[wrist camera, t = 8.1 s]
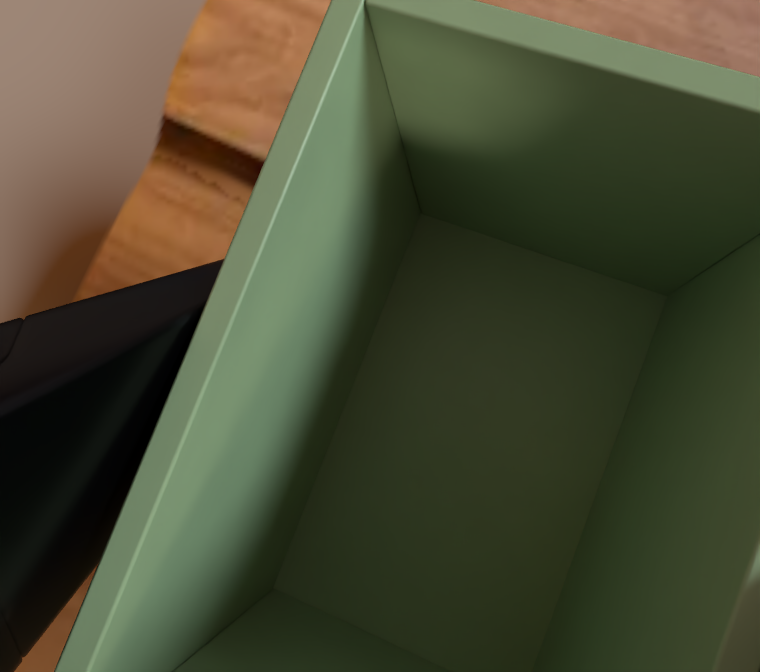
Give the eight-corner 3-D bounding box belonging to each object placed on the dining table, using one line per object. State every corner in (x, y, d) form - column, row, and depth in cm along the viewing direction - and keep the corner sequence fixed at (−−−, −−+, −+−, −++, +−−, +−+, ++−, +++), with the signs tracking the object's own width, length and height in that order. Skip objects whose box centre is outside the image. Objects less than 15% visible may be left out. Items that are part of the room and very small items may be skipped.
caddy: (529, 717, 14) (605, 1139, 6) (260, 590, 15) (3, 789, 7) (682, 291, 15) (945, 124, 7) (413, 201, 16) (344, -37, 8)
